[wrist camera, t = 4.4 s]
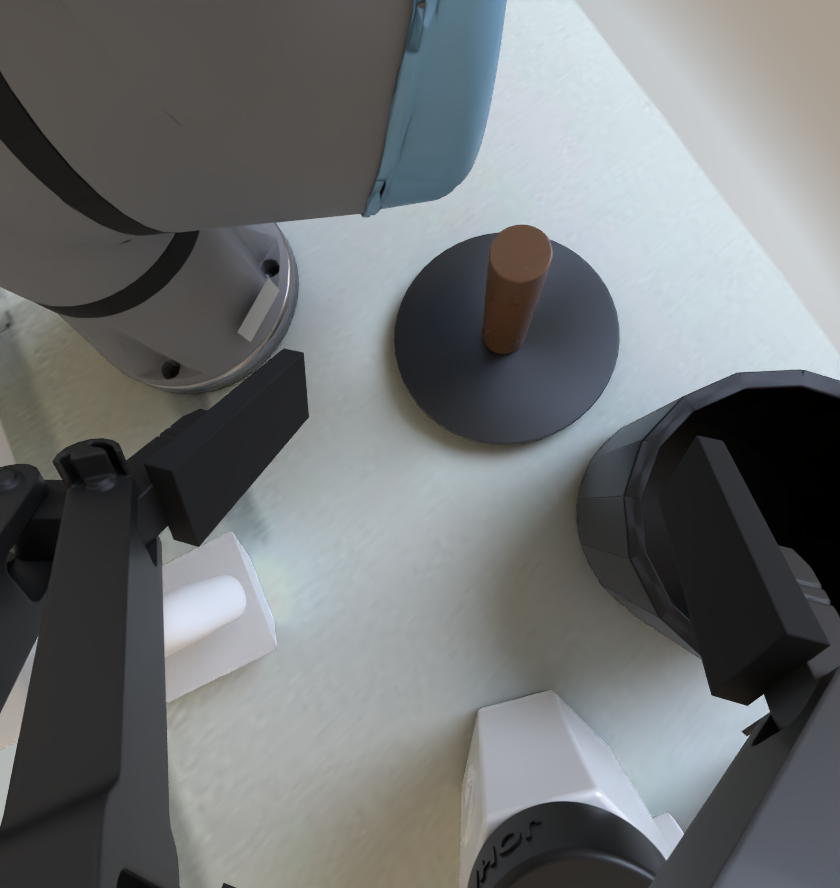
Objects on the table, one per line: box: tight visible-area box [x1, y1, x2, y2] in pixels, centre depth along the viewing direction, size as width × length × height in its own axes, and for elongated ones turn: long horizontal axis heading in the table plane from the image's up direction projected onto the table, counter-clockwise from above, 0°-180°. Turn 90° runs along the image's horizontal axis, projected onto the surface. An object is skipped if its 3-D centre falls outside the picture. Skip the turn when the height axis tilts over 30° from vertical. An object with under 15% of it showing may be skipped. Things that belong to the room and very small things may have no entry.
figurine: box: [0, 531, 277, 750], centre depth 21 cm, size 7×9×15 cm
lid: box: [394, 225, 619, 445], centre depth 24 cm, size 14×14×10 cm
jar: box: [459, 690, 672, 888], centre depth 19 cm, size 9×8×12 cm
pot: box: [577, 370, 840, 660], centre depth 22 cm, size 13×13×8 cm
